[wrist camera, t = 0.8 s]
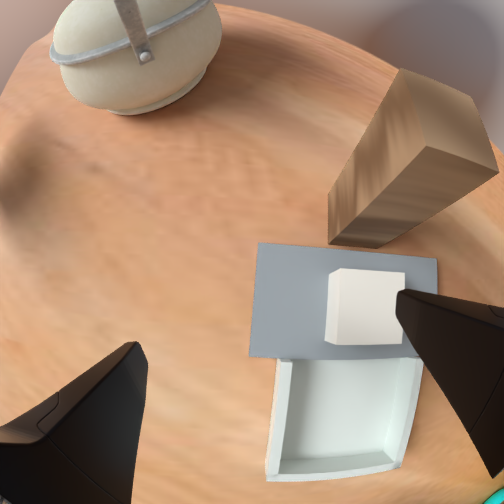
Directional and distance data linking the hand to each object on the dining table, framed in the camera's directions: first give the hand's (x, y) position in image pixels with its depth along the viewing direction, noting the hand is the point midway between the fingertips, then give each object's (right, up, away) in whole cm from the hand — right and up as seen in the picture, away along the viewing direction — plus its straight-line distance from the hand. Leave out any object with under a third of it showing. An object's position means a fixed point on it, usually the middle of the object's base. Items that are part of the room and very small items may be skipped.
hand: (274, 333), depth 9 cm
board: (+7, -2, +13) cm, 15 cm away
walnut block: (+8, +5, +14) cm, 17 cm away
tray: (+7, -11, +11) cm, 17 cm away
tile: (+7, -2, +11) cm, 14 cm away
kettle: (-14, +26, +19) cm, 35 cm away
